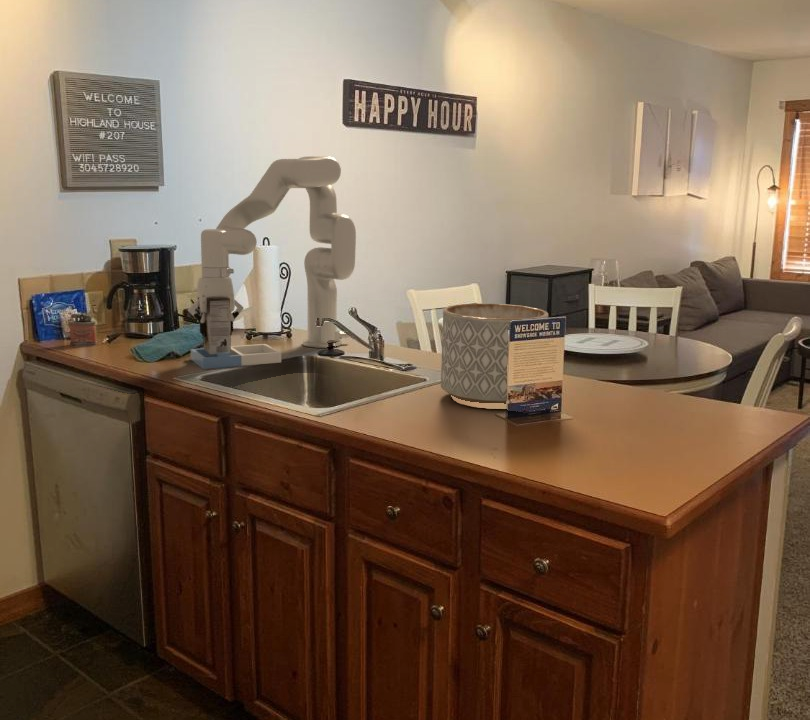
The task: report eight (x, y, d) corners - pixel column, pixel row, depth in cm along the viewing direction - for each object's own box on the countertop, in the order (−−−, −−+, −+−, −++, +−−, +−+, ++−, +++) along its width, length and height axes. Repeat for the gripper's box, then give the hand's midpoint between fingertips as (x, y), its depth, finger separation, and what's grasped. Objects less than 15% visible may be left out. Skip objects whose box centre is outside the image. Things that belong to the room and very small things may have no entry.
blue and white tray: (265, 353, 245) (265, 340, 245) (281, 362, 233) (281, 349, 233) (190, 359, 235) (190, 345, 234) (203, 368, 223) (202, 355, 222)
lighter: (98, 344, 253) (96, 313, 251) (94, 346, 250) (93, 314, 248) (72, 343, 253) (70, 312, 250) (68, 345, 249) (66, 314, 247)
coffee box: (202, 349, 233) (201, 294, 230) (224, 347, 236) (223, 293, 233) (209, 355, 225) (207, 298, 222) (231, 353, 228) (230, 297, 225)
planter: (468, 417, 182) (472, 321, 177) (424, 390, 205) (426, 305, 200) (563, 408, 191) (569, 317, 187) (510, 383, 215) (515, 302, 210)
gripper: (241, 271, 233) (242, 331, 237) (181, 272, 225) (183, 334, 229) (249, 273, 227) (249, 335, 231) (187, 275, 219) (189, 339, 222)
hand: (216, 334), depth 230 cm, fingers closed on coffee box, 6 cm apart
